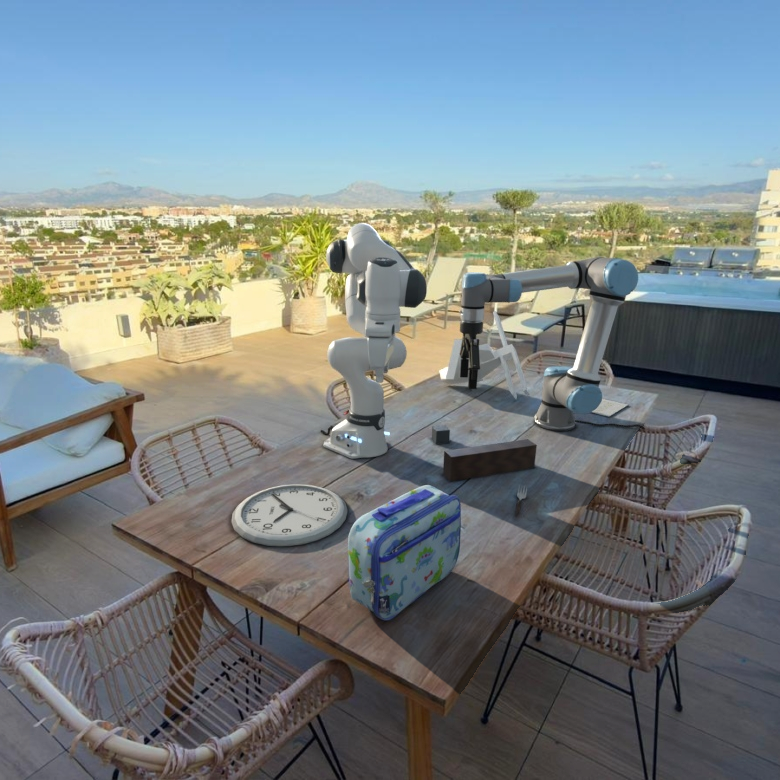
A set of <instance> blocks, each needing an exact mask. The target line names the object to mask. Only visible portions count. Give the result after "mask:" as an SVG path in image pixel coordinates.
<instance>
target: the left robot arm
mask: <svg viewBox="0 0 780 780" xmlns="http://www.w3.org/2000/svg"><path fill="white" fill-rule="evenodd" d="M325 258H326V259H325V260H326V264H327V266H328V269H329V270H330V271H331V272H332V273H335V274H338V275H339V274H348V276H347V277H346V279H345V286H344V287H345V288H344V303H345V304H344V305H345V313H346V314H345V315H346V322H347V324H348V326H349V327H350V328H351V330H353V331H355V332H357V333H359V334H361V335H363V336H356V337H355V336H351V337H343V338H339V339H335V340H334V339H333V340H332V341H331V343H330V344H329V346H328V348H327V351H326V352H327V353H326V356H327V357H326V359H327V361H328V363H329V365H330V366H331V368H332V369H333V370H335V371H336V372H338V373H339V374H340V375H341V376H342V377H343V379H344V380H345V382H346V384H347V386H348V390H349V399H350V408H348V409H346V410H345V411H344V412H343V413H344V414H343V416H346V418H344V419H343V420H342V421H340V422H337V423H334V424H331V425H330V426H329V427H328V428H327V431H325V430H323V429H320V433H322V434H324V435H326V436H328V435H330V437H329V438H327V439H325V440H324V442H323V448H325V449H327V450H330V451H332V452H334V453H336V454H339V455H341V456H344V457H346V458H349V459H351V460H355V459H360V458H361V459H362V458H374V457H375V458H376V457H379V456H382V455H384V454H386V453H387V452H388V450H389V447H388V443H387V440H386V439H387V438H386V436H390V432H389V431H385V423H386V411H385V409H384V407H385V390H384V387H383V386H382V385H381V384H382V383H383V382H384V380H385V379H384V377H385V375H384V374H388V372H389V371H390V370H394V369H398V368H401V367H402V366H403V365H404V364H405V362H406V359H407V356H408V355H407V353H408V352H407V346H406V345H405V343H404V341H403V340H402V339H401V338H400V337H398V336H396V334H398V333H400V331H401V308H402V307H403V308H410V309H412V308H413V309H414V308H417V307H418V306H420V305H421V304H422V303H423V302H424V301H425V299H426V298H427V291H428V288H427V281H426V278H425V276H424V275H423V273H422V272H421V271H420V270H419V269H417V268H414V266H413V264H411V263H410V262H409V260H408V259H407V258H406V257H405V256H404V255H403V253H402V252H400V251H399V250H398V249H396V248H393V247H392V245H391V243H390V242H389V240H385V239H382V237H381V236H380V234H379V233H378V232H377V230H376V229H375V228H374V227H373V226H371V225H370V224H369V223H364V222H359V223H356V224H353V226H352V227H350V229H349V230H348V233H347V237H346V239H342V238H338V240H335V241H332V242H330V244H329V245H328V247H327V250H326V254H325ZM371 371H372V372H373V371H374V374H375V380H373V379H372V378H370V377H368V376H366V372H371Z"/></svg>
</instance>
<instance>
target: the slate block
mask: <svg viewBox="0 0 780 780" xmlns="http://www.w3.org/2000/svg"><path fill="white" fill-rule="evenodd" d="M450 437H451V430H450V428H449V427H448V426H447V424H442V425H441V424H440V425H432V426H431V440H432V441H433V443H435V445H443V444H444V445H445V444H450V439H451V438H450Z"/></svg>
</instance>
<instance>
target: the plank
mask: <svg viewBox="0 0 780 780" xmlns="http://www.w3.org/2000/svg"><path fill="white" fill-rule="evenodd" d="M537 447H538V445H537V444H536V443H534V442H533V441H531V440H529V439H520V440H519V439H518V440H512V441H504V442H497V443H490V444H483V445H476V446H469V447H461V448H455V449H447V450H444V451H443V467H442V475H443V476H444V477H445V478H446V479H447V480H448V481H449V482H457V481H461V480H467V479H473V478H474V479H475V478H479V477H486V476H493V475H499V474H504V473H505V474H506V473H511V472H516V471H517V472H519V471H523V470H529V469H534V468H535V466H536V455H537Z"/></svg>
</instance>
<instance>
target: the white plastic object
mask: <svg viewBox="0 0 780 780" xmlns="http://www.w3.org/2000/svg"><path fill="white" fill-rule="evenodd" d="M492 315H493V319H494V321H495V324H496V325H495V326H496V328H497V332H498V335H499V338H500V342H501V345H502V347H500V348H498V349H496V350H495V349H493V348H492V347H491V346H490V344H489V343H488V342H487V343H483V344H479V358H480V370H478V376H477V383H480V382H482V381H484V378H485V377H486V376H487V375H489V374H490V373H492V372H494V371H495V370H496V369H497V368H499V367H500V366H502V370H503V373H504V376H505V380H506V383H507V386H508V390H509V393H510V394H511V395H512V397H513V398H514V399H515V400H517V392H516V391H517V390H516V388H515V385H514V381H513V378H512V375H511V371H510V369H509V365H508V361H510V360H513V363H514V366H515V369H516V372H517V376H518V380H519V382H520V385H521V389H522V391H523V393H524V395H525V396H526V397H528V396H531V395H530V390H529V388H528V387H529V386H528V384H527V381H526V378H525V375H524V371H523V369H522V368H523V367H522V366H521V362H520V359H519V355H518V352H517V349H516V347H515V346H514V345H513V343H511V344H508V341H507V337H506V334H505V331H504V328H503V325H502V321H501V318H500V315H499V314H498V312H497V311H496V310H495V311H492ZM461 344H462V338H460V339H458V338H454V340H453V344H452V349H451V353H450V357H449V362H448V366H446V367H444V368H442V369H440V370H439V371H438V372H439V376H440V381H442V383H443V384H444V385H445V386H449V385H458V384H467V383H468V380H469V370H468V377H460V366H461V359H462V358H461V355H460V349H461ZM467 359H469V358H467ZM474 366H475V365H474ZM469 367H470V361H469ZM469 367H468V368H469Z"/></svg>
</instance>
